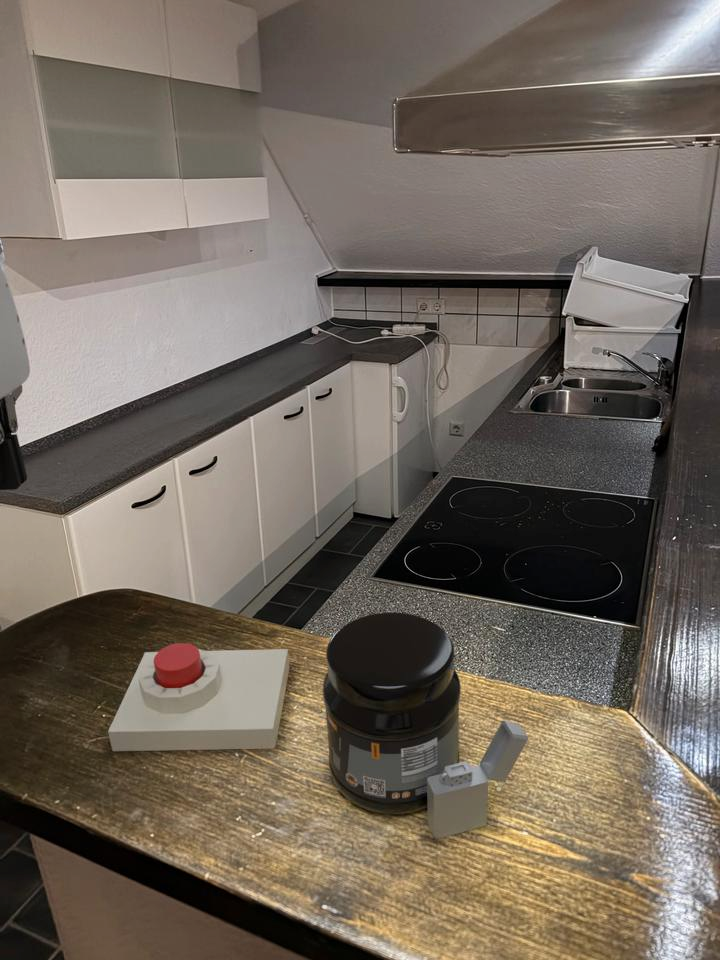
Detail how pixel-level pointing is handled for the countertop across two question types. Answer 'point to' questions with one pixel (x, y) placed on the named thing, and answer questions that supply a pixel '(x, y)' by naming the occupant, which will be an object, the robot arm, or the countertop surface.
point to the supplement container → (390, 710)
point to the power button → (178, 665)
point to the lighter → (472, 784)
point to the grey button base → (205, 705)
